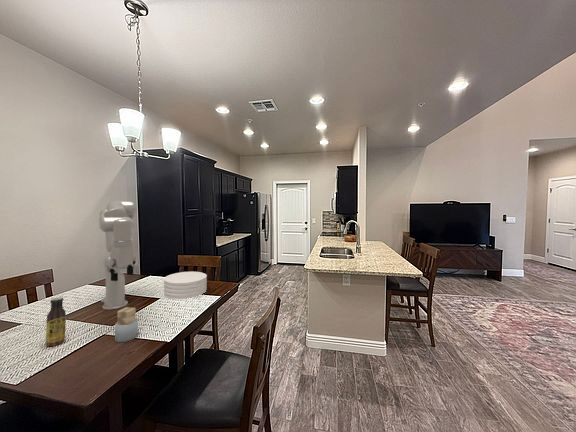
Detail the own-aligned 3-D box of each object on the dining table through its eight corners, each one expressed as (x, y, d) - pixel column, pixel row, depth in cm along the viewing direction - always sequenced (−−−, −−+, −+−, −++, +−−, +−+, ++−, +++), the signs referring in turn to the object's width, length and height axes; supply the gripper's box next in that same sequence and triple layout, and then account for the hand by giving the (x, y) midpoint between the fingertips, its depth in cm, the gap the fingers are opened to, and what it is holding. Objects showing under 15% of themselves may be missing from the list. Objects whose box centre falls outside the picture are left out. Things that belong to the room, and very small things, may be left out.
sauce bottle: (48, 348, 104) (47, 302, 103) (43, 344, 107) (43, 299, 106) (68, 341, 109) (67, 298, 109) (63, 337, 113) (62, 295, 112)
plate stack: (202, 284, 193) (202, 269, 193) (210, 295, 169) (210, 279, 169) (162, 289, 179) (162, 274, 178) (165, 303, 155) (165, 285, 154)
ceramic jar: (110, 341, 111) (109, 326, 110) (125, 331, 120) (125, 317, 119) (127, 343, 110) (127, 327, 109) (142, 332, 118) (142, 318, 118)
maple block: (117, 324, 112) (117, 311, 112) (126, 319, 117) (126, 307, 117) (127, 325, 112) (127, 312, 111) (135, 320, 116) (135, 308, 116)
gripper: (129, 240, 130) (129, 271, 131) (100, 246, 113) (100, 282, 114) (142, 241, 129) (141, 273, 130) (114, 247, 112) (114, 284, 113)
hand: (122, 277), depth 122 cm, fingers open, 9 cm apart
